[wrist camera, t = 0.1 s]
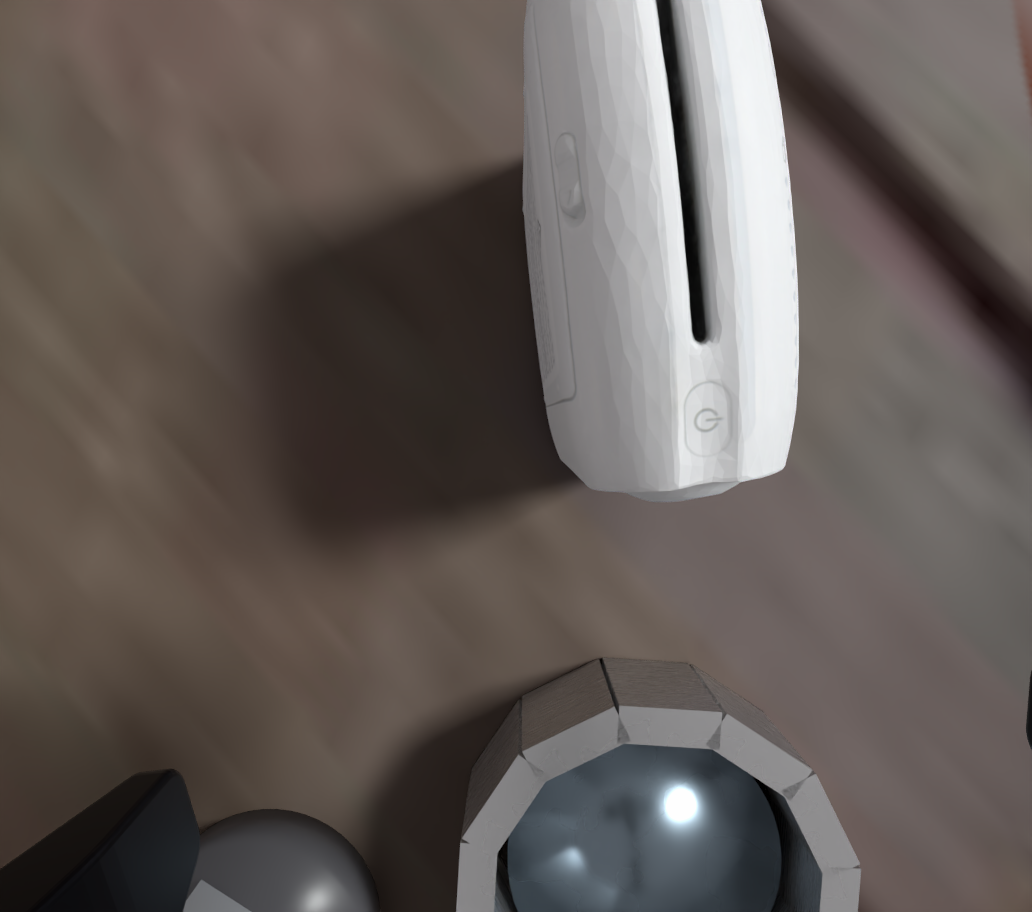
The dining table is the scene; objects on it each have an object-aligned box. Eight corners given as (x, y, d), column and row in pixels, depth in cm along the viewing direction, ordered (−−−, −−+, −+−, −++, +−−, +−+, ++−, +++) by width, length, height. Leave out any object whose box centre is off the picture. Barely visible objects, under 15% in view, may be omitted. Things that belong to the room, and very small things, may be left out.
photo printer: (686, 463, 23) (877, 507, 11) (550, 479, 23) (583, 541, 11) (650, 132, 23) (806, -221, 10) (512, 149, 23) (501, -182, 10)
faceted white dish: (678, 1046, 24) (710, 1172, 20) (404, 868, 24) (380, 958, 20) (865, 779, 23) (936, 851, 19) (587, 595, 23) (601, 631, 19)
